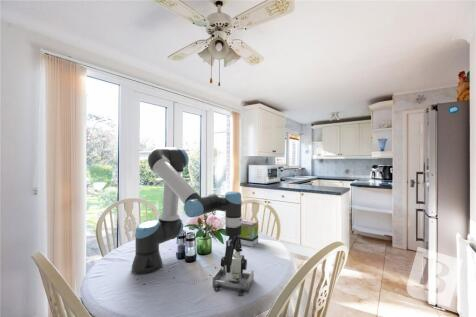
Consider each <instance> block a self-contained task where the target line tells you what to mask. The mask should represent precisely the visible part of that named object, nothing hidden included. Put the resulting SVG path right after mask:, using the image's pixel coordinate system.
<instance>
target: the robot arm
mask: <svg viewBox="0 0 476 317" xmlns="http://www.w3.org/2000/svg"><path fill="white" fill-rule="evenodd" d="M147 163H148V166H149V168H150V170H151V171H152V172H153V174H156V175H158V176H159V177H160V178H161V179H162V180H163V182H164V185H163V195H162V198H163V199H162V209H161V211H162V212H161V215H160V216H158V220H149V221H148V220H147V221H144V222H141V223H140V224H138V225H137V226H136V228H135V234H134V238H135V254H134V258H133V262H132V264H131V271H132V273H134V274H136V275H147V274H152V273H155V272H157V271H158V270H160V269H161V268H162V267H163V258H162V256H161V253H160V244H162V243H166V242H168V241H170V240H174V239H176V238H178V237H180V236H181V235H182V232H183V231H184V223H183V220H182V219H181V216H180V215H179V214H178V210H179V209H178V208H179V200H180V201H181V202H182V203H183V204H184V205H183V209H184V210H183V211H184V214H185V215H186V216H187V217H188V218H196V217H200V216H203V215H206V214H210V213H213V212H216V211H221V212H224V214H225V216H224V217H225V222H224V224H225V229H224V230H225V234H226V235H227V236H228V240H226V241H225V252H224V254H225V255H224V256H225V259H224V265H226V279H229V280H232V258H233V254H238V255H241V252H243V249H242V244H241V239H240V235H241V233H242V226H241V221H243V219H244V218H242V206H243V205H242V203H243V200H242V193H241V192H239V191H226V193H225V195H223V194H218V193H217V194H216V193H209V194H207V195H206V196H203V197H202V196H201V195H200V194H199V193H198V192H197V191H196V190H195V188H193V187H192V186H191V184H189V183H188V182H187V181H186V180H185V178H184V177H183V176H182V174H183V173H184V168H187V166H188V164H189V155H188V153H187V152H186V150H185V149H183V148H179V147H164V146H162V147H161V146H160V147H159V146H158V147H156V148H154V149H152V150H151V152H150V153H149V154H148V157H147Z"/></svg>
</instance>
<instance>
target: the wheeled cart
mask: <svg viewBox="0 0 476 317" xmlns="http://www.w3.org/2000/svg"><path fill="white" fill-rule="evenodd" d="M238 274H240V278H239V280H237V281H236V282H234V281H229V279H226V271H223V267H221V266H219V268H218V269H217V271H216V272H215V273H214V274H213V276H212V288H213V290H214V292H220V290H221V289H223V290H227V291H233V292H237V295H238V296H239V297H243V296H244V295H245V294H249V293H250V290H251V287H252V285H253V282H254V279H255V278H254V277H255V276H254V270H251V271H250V272H244V271H243V273H238Z"/></svg>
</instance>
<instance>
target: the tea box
mask: <svg viewBox="0 0 476 317" xmlns="http://www.w3.org/2000/svg"><path fill="white" fill-rule="evenodd" d="M242 219H243V221H241V226H242V233H241V235H240V239H241V246H242V245H244V246H247V247H251V248H252V247H254V246H255V245H257V244H258V243H259V221H257V220H249V219H244V218H242Z"/></svg>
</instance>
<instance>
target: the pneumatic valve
mask: <svg viewBox="0 0 476 317" xmlns="http://www.w3.org/2000/svg"><path fill="white" fill-rule="evenodd" d="M224 259H225V255H224V256H221V258H220V267H223V271H226V265H224ZM247 268H248V260H247V259H246V258H245V255H243V254H240V255H238V254H235V253H233V258H232V280H229V281H234V282H236V281H237V280H239V278H240V274H238V273H243V272H244V271H246V270H247Z"/></svg>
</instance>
